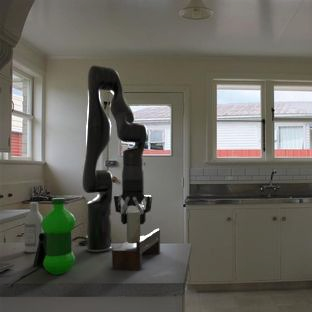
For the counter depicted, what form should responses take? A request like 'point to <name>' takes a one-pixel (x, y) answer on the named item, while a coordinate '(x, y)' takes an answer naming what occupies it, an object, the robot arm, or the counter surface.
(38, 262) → the phone stand
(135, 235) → the box
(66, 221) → the plastic bottle
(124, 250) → the shelf
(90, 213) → the robot arm
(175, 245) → the counter surface
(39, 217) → the bath foam
